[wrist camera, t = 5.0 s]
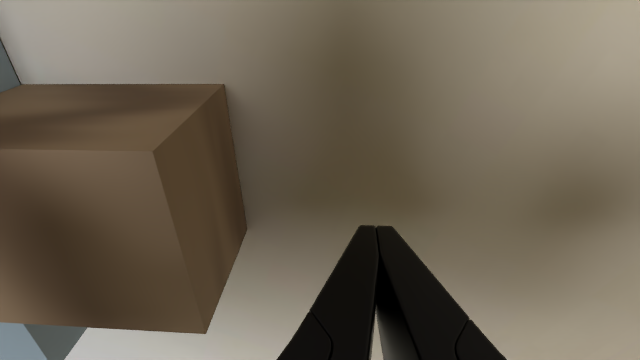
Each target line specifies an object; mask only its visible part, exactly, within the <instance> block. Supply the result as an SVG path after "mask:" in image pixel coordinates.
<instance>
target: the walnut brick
mask: <svg viewBox="0 0 640 360" xmlns="http://www.w3.org/2000/svg"><path fill="white" fill-rule="evenodd" d="M246 231H247V225H246V219H245V213H244V207H243V200H242V194H241V188H240V182H239V175H238V169H237V163H236V157H235V150H234V144H233V138H232V132H231V126H230V119H229V113H228V107H227V101H226V94H225V88H224V84H22V85H20V86H17V87H14V88H12V89H9V90H6V91H3V92H1V93H0V322H2V323H20V324H37V325H55V326H73V327H91V328H109V329H126V330H144V331H162V332H180V333H198V334H206V332H207V330H208V327H209V325H210V322H211V320H212V317H213V315H214V312H215V310H216V307H217V305H218V302H219V300H220V297H221V294H222V292H223V289H224V287H225V284H226V282H227V279H228V277H229V274H230V272H231V269H232V267H233V264H234V262H235V259H236V257H237V254H238V252H239V249H240V247H241V244H242V241H243V239H244V236H245V234H246Z"/></svg>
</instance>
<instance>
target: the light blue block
mask: <svg viewBox="0 0 640 360" xmlns="http://www.w3.org/2000/svg"><path fill="white" fill-rule="evenodd" d="M17 86H20V83H19V81H18V78H17V76H16V74H15V72H14V70H13V67H12V65H11V63H10V61H9V59H8V56H7V54H6V52H5V50H4V48H3V45H2V43H1V41H0V93H1V92H3V91H6V90H9V89H12V88H14V87H17ZM86 329H87V327H73V326H55V325H37V324H20V323H2V322H0V360H64V359H65V358H66V356H67V355H68V354H69V352H70V351H71V349H72V348H73V347H74V345H75V344H76V343H77V341H78V340H79V338H80V337H81V336H82V334H83V333H84V332H85V330H86Z"/></svg>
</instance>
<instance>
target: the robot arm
mask: <svg viewBox="0 0 640 360" xmlns="http://www.w3.org/2000/svg"><path fill="white" fill-rule="evenodd" d="M375 311H376V314H377V322H378V328H379V334H380V340H381V346H382V353H383V359H384V360H507V359H506V358H505V357H504V356H503V355H502V354H501V353H500V352H499V351H498V350H497V349H496V348H495V346H494V345H493V344H492V343H491V342H490V341H489V340H488V339H487V337H486V336H485V335H484V334H483V333H482V332H481V331H480V329H479V328H478V327H477V326H476V325H475V324H474V322H473V321H472V320H469V317H468V315H467V314H466V313H465V312H464V311H463V309H462V308H461V307H460V306H459V305H458V304H457V302H456V301H455V300H454V299H453V298H452V296H451V295H450V294H449V293H448V292H447V291H446V289H445V288H444V287H443V286H442V285H441V283H440V282H439V281H438V280H437V279H436V277H435V276H434V275H433V274H432V273H431V272H430V270H429V269H428V268H427V267H426V266H425V264H424V263H423V262H422V261H421V260H420V259H419V257H418V256H417V255H416V254H415V253H414V251H413V250H412V249H411V248H410V247H409V246H408V244H407V243H406V242H405V241H404V240H403V238H402V237H401V236H400V235H399V234H398V232H397V231H396V230H395V229H394V228H393V227H392V226H377V227H376V228H375V226H371V225H361V226H359V227H358V229H357V231H356V232H355V234H354V236H353V237H352V239H351V241H350V242H349V244H348V246H347V248H346V249H345V251H344V253H343V254H342V256H341V258H340V259H339V261H338V263H337V265H336V266H335V268H334V270H333V271H332V273H331V275H330V276H329V278H328V280H327V281H326V283H325V285H324V287H323V288H322V290H321V292H320V293H319V295H318V297H317V298H316V300H315V302H314V303H313V305H312V307H311V309H310V311H309V312H308V313H307V315H306V317H305V318H304V320H303V322H302V323H301V325H300V327H299V328H298V330H297V331H296V333H295V334H294V336H293V338H292V339H291V341H290V342H289V344H288V345H287V346H286V348H285V349H284V350H283V352H282V353H281V354H280V356H279V357H278V358H277V360H371V354H372V344H373V333H374V323H375Z"/></svg>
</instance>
